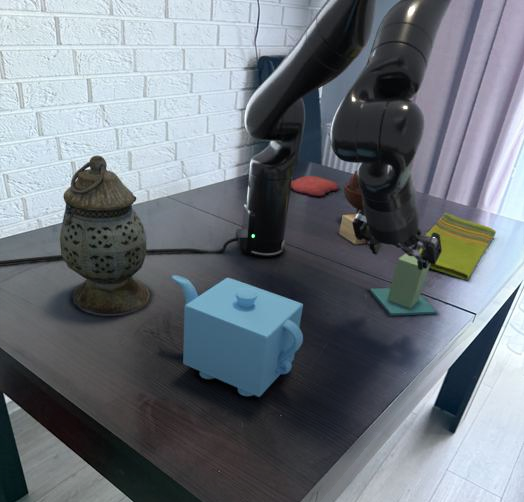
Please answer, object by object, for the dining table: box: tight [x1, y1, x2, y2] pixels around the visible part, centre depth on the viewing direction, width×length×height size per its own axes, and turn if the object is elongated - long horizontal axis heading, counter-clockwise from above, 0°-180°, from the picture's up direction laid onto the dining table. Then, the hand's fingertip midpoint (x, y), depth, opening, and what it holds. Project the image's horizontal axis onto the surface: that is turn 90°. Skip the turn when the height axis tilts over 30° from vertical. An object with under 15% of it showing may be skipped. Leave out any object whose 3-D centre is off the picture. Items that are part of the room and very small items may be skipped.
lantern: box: [59, 155, 151, 317], centre depth 85 cm, size 14×14×25 cm
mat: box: [369, 287, 437, 317], centre depth 103 cm, size 10×10×1 cm
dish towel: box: [419, 212, 497, 280], centre depth 129 cm, size 15×36×3 cm, turn 150°
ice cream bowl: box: [343, 170, 364, 214], centre depth 134 cm, size 11×11×15 cm
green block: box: [387, 252, 430, 308], centre depth 100 cm, size 5×5×9 cm
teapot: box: [171, 274, 304, 398], centre depth 75 cm, size 22×11×14 cm, turn 61°
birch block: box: [338, 213, 369, 245], centre depth 128 cm, size 7×7×5 cm
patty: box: [291, 175, 340, 198], centre depth 161 cm, size 18×14×2 cm
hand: (399, 257), depth 88 cm, fingers open, 8 cm apart
